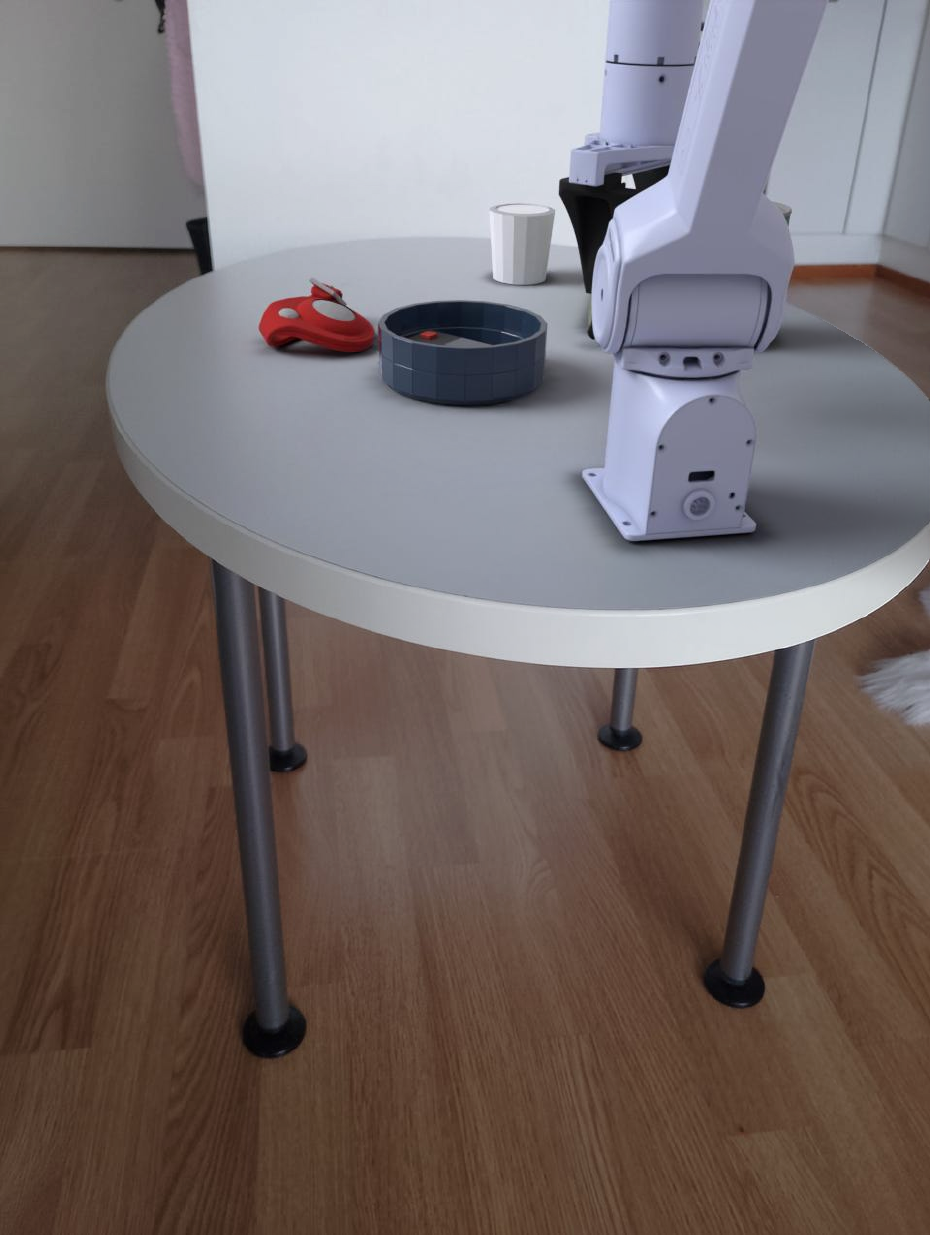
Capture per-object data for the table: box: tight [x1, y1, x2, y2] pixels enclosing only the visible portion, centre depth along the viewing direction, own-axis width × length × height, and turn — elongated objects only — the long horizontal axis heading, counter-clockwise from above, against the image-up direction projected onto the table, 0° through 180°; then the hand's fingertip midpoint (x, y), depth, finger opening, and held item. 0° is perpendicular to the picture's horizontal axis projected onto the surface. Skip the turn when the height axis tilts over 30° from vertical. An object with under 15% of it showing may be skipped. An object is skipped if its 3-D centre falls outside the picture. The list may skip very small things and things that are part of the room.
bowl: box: [377, 299, 549, 406], centre depth 83 cm, size 13×13×4 cm
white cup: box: [489, 203, 556, 286], centre depth 110 cm, size 7×7×7 cm
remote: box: [407, 330, 492, 347], centre depth 83 cm, size 9×3×2 cm, turn 53°
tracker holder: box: [258, 276, 376, 353], centre depth 92 cm, size 12×4×10 cm
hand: (629, 283), depth 73 cm, fingers open, 7 cm apart
